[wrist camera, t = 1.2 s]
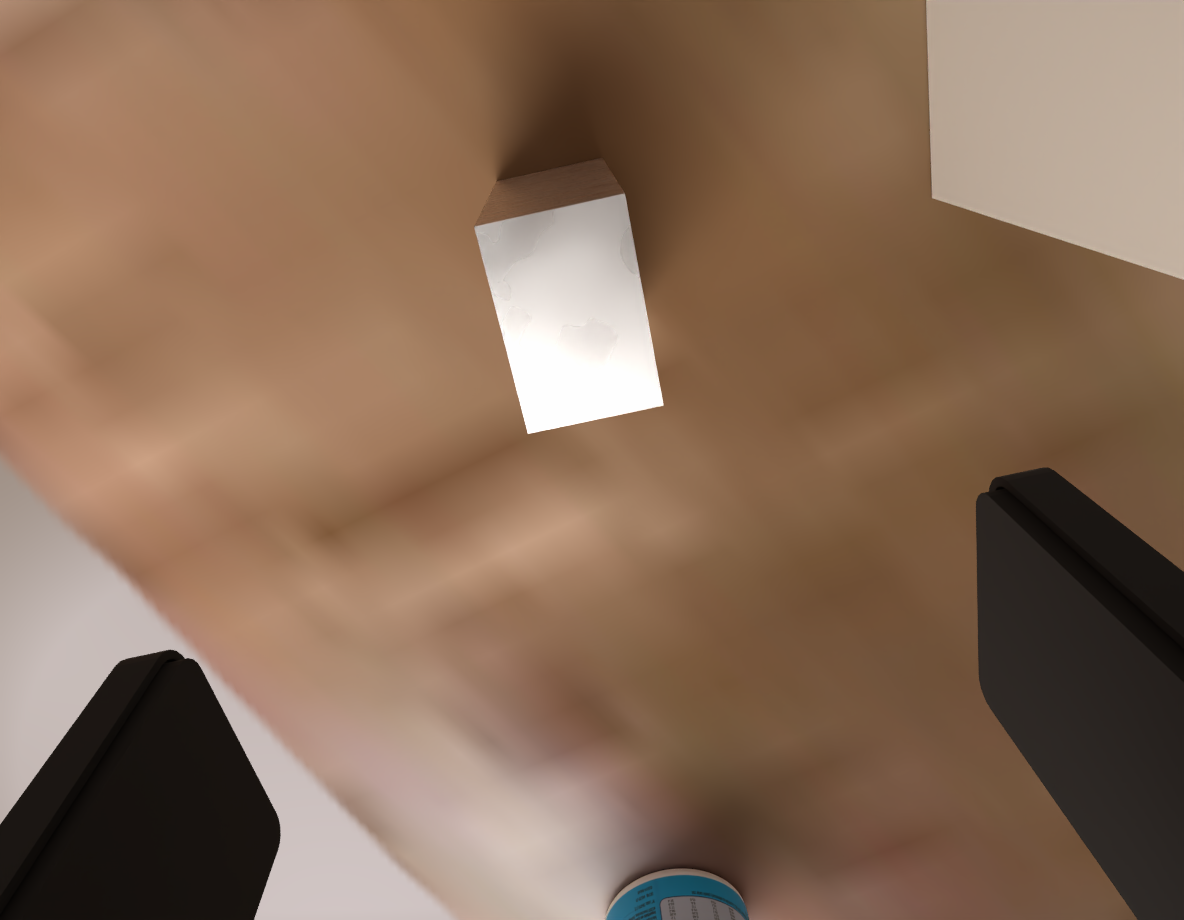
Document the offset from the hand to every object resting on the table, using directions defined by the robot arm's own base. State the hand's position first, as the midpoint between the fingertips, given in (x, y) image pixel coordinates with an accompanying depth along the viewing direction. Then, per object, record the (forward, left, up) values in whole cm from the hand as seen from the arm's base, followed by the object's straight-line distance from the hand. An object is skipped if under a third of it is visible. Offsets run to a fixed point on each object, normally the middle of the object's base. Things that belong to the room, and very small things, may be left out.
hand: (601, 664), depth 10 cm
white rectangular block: (0, 0, -24) cm, 24 cm away
